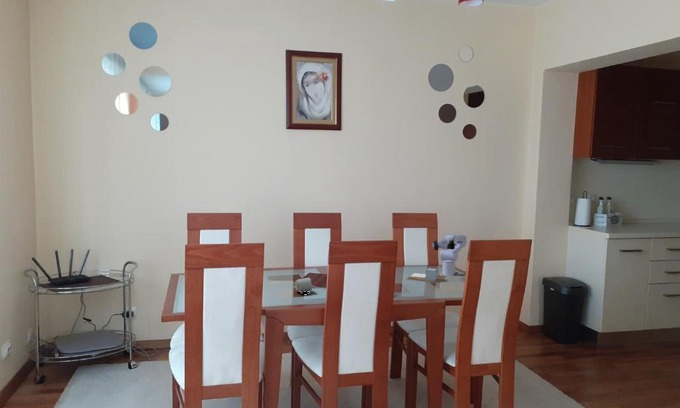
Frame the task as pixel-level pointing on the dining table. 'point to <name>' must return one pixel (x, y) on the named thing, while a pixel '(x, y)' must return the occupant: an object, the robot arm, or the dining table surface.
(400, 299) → the dining table surface
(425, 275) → the pad
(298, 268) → the dining table surface
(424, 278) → the board
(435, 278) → the light blue cube
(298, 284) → the ceramic mug
